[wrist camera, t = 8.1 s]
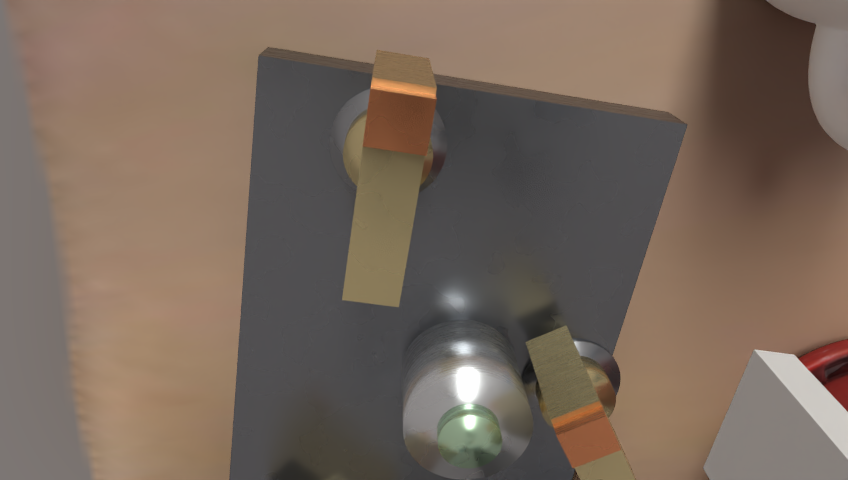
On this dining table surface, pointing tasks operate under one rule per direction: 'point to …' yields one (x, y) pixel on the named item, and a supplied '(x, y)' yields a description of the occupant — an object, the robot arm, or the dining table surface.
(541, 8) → the dining table surface
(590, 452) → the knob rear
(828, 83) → the mug
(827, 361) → the plant pot
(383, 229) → the knob
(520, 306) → the levelling plate
